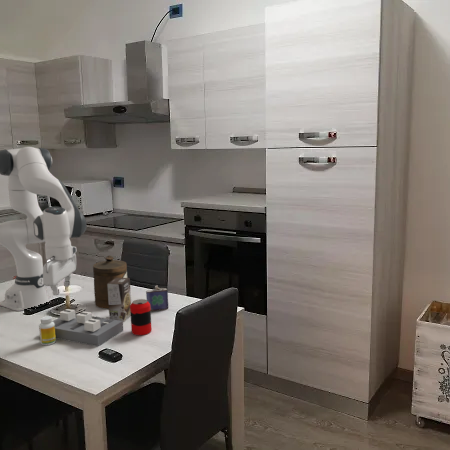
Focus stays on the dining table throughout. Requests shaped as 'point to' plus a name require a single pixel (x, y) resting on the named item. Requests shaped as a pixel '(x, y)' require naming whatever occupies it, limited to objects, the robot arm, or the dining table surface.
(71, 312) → the slider
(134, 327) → the soda can
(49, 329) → the supplement bottle
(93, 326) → the slider
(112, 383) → the dining table surface
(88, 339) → the switch panel
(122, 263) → the wooden container
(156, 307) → the flask
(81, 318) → the slider
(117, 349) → the dining table surface
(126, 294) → the coffee box
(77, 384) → the dining table surface
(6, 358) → the dining table surface
